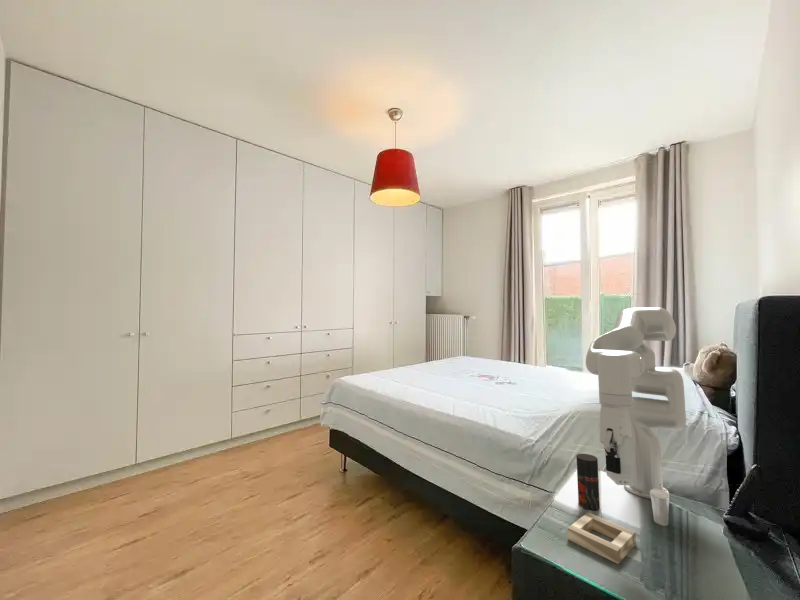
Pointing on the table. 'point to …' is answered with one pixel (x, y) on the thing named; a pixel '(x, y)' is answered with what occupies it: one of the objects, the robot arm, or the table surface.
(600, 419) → the robot arm
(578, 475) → the deodorant
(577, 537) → the holder
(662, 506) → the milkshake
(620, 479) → the skincare box
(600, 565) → the table surface
